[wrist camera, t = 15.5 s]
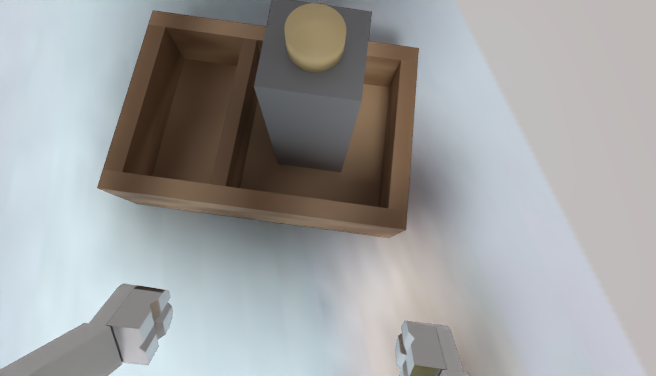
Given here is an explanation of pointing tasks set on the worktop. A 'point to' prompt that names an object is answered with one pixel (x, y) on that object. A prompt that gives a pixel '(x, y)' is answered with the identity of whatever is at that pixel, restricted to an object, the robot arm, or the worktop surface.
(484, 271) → the worktop surface
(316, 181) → the caddy
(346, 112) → the push button
